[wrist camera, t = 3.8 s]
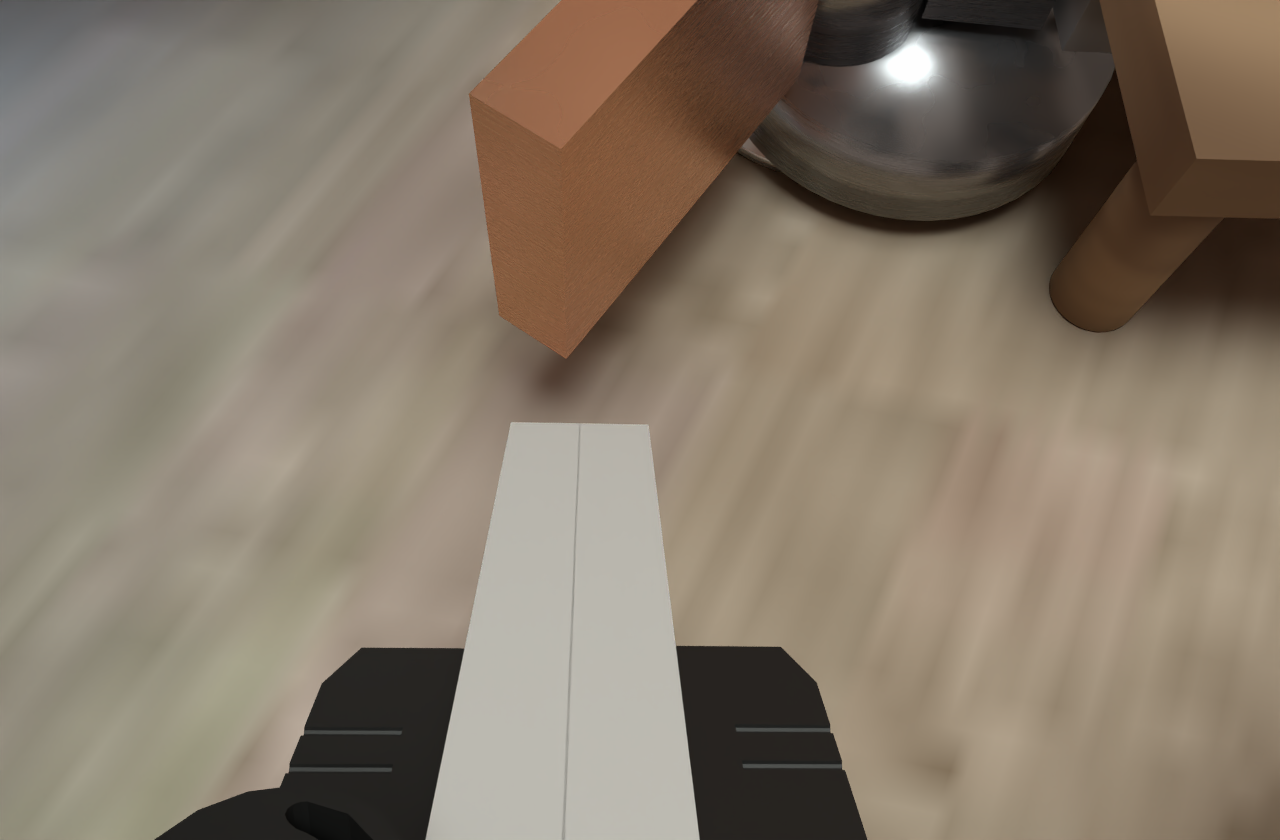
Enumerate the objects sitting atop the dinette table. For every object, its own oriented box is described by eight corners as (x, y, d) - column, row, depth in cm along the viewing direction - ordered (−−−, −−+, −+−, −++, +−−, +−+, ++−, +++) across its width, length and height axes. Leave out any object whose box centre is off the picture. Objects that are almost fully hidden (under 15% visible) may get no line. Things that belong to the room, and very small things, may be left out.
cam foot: (780, -140, 27) (854, -526, 20) (1136, 43, 25) (1363, -310, 18) (374, 290, 21) (270, -27, 14) (793, 567, 19) (917, 364, 12)
